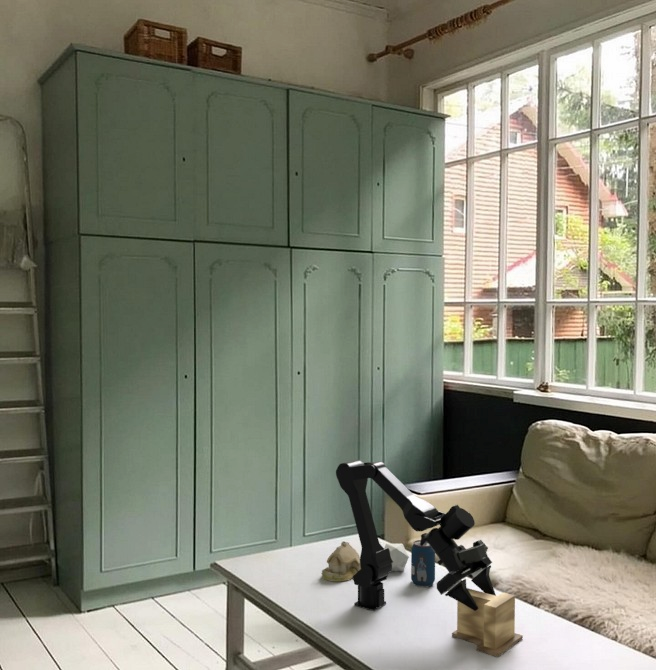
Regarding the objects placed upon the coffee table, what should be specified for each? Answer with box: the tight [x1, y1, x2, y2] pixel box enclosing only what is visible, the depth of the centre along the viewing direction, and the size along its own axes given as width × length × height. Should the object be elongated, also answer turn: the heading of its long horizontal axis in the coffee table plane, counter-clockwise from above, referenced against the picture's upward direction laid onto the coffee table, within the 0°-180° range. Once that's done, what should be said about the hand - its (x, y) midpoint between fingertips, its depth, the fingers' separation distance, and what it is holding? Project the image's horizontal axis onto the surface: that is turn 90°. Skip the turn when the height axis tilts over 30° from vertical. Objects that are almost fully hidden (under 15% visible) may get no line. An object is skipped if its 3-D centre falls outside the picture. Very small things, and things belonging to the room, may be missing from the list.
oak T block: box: [456, 587, 516, 650], centre depth 187 cm, size 12×10×10 cm
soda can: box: [410, 539, 436, 588], centre depth 225 cm, size 7×7×12 cm
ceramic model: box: [321, 541, 361, 582], centre depth 233 cm, size 14×11×10 cm
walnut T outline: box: [451, 629, 524, 658], centre depth 187 cm, size 14×13×1 cm
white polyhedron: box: [383, 543, 410, 572], centre depth 237 cm, size 8×9×10 cm
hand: (486, 604), depth 187 cm, fingers open, 9 cm apart
